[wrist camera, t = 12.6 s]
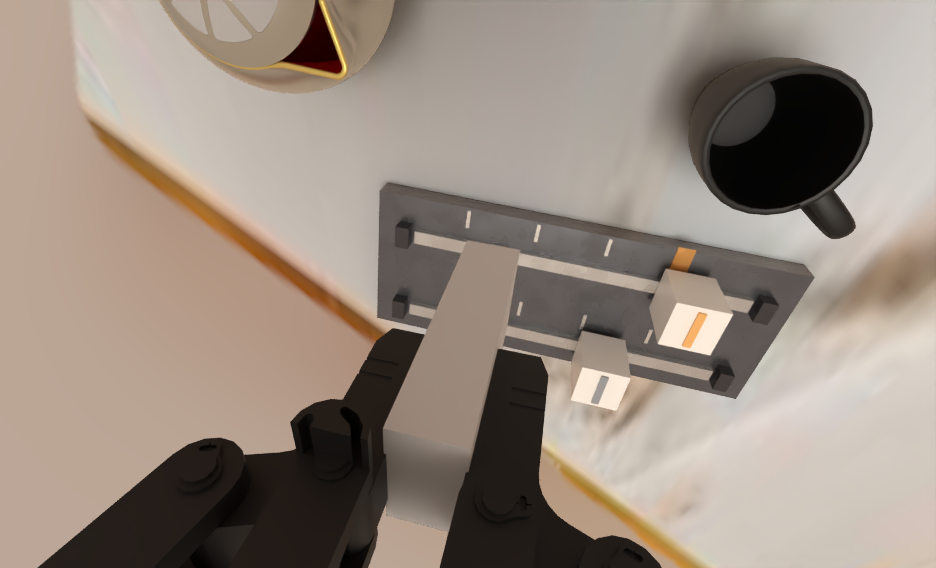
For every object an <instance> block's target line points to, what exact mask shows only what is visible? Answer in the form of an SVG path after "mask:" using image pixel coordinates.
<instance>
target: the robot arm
mask: <svg viewBox="0 0 936 568" xmlns="http://www.w3.org/2000/svg"><path fill="white" fill-rule="evenodd" d="M519 254H520V250H519V249H513V248H508V247H502V246H496V245H491V244H485V243H479V242H474V241H468V240H467V242H466V244H465V247H464V249H463V251H462V253H461V255H460V258H459V260H458V262H457V264H456V267H455V269H454V271H453V273H452V276H451V278H450V280H449V282H448V284H447V287H446V289H445V291H444V293H443V296H442V298H441V300H440V302H439V304H438V307H437V309H436V311H435V313H434V316H433V318H432V320H431V322H430V325H429V327H428V329H427V331H426V333H425V335H424V334H419V333H414V332H409V331H405V330H400V329H395V328H393V329H391V330H390V331H389V332H387V333H386V334H385V335H383V336H382V337H381V338H379V339H378V340H377V341H376V343H375V344H374V346H373V348H372V350H371V351H370V353H369V355H368V357H367V360H365V362H364V363H363V365H362V367H361V369H360V372H359V374H357V376H356V377H355V379H354V381H353V383H352V385H351V386H350V388H349V390H348V392H347V393H346V395H345V397H344V399H343V400H337V399H330V400H325V401H321V402H317V403H314V404H312V405H311V406H308V407H307V408H305V409H303V410H302V411H300V412H299V413H298V414H297V415H296V417H295V418H294V419H293V420H292V421H291V422H290V423H291V427H292V432H293V437H294V441H295V446H296V449H294V450H292V451H286V452H280V453H266V454H252V455H244V454H243V451H242V450H241V448H240V447H239V446H238V445H237V444H236V443H234V442H233V441H230V440H227V439H223V438H209V439H203V440H200V441H197V442H194V443H191V444H188V445H187V446H185V447H184V448H182V449H180V450H179V451H177V452H176V453H174V454H173V455H172V456H170V457H169V458H168V459H167V460H166V461H164V462H163V463H162V464H161V465H160V466H158V467H157V468H156V469H155V470H154V471H152V472H151V473H150V474H149V475H148V476H146V477H145V478H144V479H143V480H142V481H140V482H139V483H138V484H137V485H136V486H135V487H133V488H132V489H131V490H130V491H129V492H127V493H126V494H125V495H124V496H123V497H121V498H120V499H119V500H118V501H117V502H115V503H114V504H113V505H112V506H111V507H110V508H108V509H107V510H106V511H105V512H103V513H102V514H101V515H100V516H99V517H97V518H96V519H95V520H94V521H93V522H92V523H90V524H89V525H88V526H87V527H86V528H85V529H83V530H82V531H81V532H80V533H78V534H77V535H76V536H75V537H74V538H72V539H71V540H70V541H69V542H68V543H67V544H65V545H64V546H63V547H62V548H61V549H59V550H58V551H57V552H56V553H55V554H54V555H52V556H51V557H50V558H49V559H47V560H46V561H45V562H44V563H43V564H42V565H40V566H39V567H38V568H368V566H369V564H370V561H371V558H372V555H373V553H374V550H375V547H376V541H377V536H378V532H377V526H378V523H379V521H380V518H381V515H382V513H383V510H384V507H385V505H386V515H387V516H390V517H393V518H397V519H401V520H405V521H409V522H413V523H416V524H420V525H424V526H427V527H432V528H435V529H439V530H443V531H447V532H449V533H448V537H447V541H446V545H445V549H444V553H443V557H442V560H441V564H440V568H661V566H660V564H659V563H658V562H657V561H656V560H655V559H654V557H653V556H652V555H651V554H650V553H649V552H648V551H647V550H646V549H645V548H643V547H642V546H640V545H638V544H637V543H635V542H633V541H631V540H629V539H627V538H622V537H617V536H613V535H612V536H607V537H602V538H598V539H596V540H594V539H592V538H591V537H589V536H587V535H586V534H584V533H582V532H581V531H579V530H578V529H576V528H574V527H573V526H571V525H569V524H568V523H567V522H565V521H564V520H563V519H561V518H560V517H558V516H557V514H556V513H555V512H554V511H553V510H552V509H551V508H550V507H549V505H548V504H547V502H546V500H545V498H544V496H543V495H542V491H541V488H540V485H539V466H540V456H541V446H542V435H543V425H544V415H545V414H544V412H545V405H546V394H547V384H548V373H547V371H546V369H545V366H544V364H543V361H542V359H541V357H537V356H532V355H527V354H522V353H517V352H513V351H508V350H503V349H502V347H503V343H504V338H505V334H506V330H507V325H508V319H509V313H510V307H511V301H512V295H513V289H514V283H515V278H516V272H517V266H518V260H519Z"/></svg>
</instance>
